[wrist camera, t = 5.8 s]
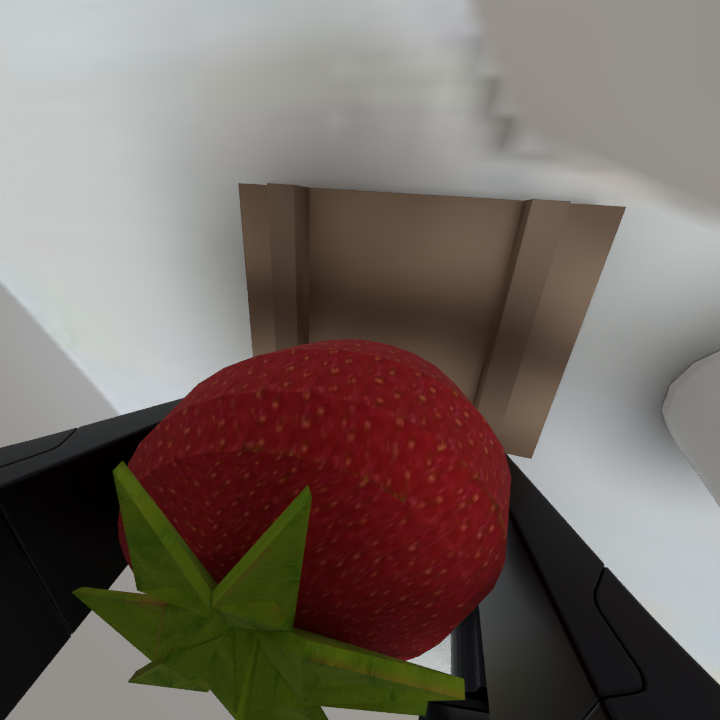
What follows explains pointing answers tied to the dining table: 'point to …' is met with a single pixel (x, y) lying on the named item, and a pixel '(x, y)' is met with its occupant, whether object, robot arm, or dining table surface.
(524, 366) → the stand
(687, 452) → the foam cup
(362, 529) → the strawberry
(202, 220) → the dining table surface
